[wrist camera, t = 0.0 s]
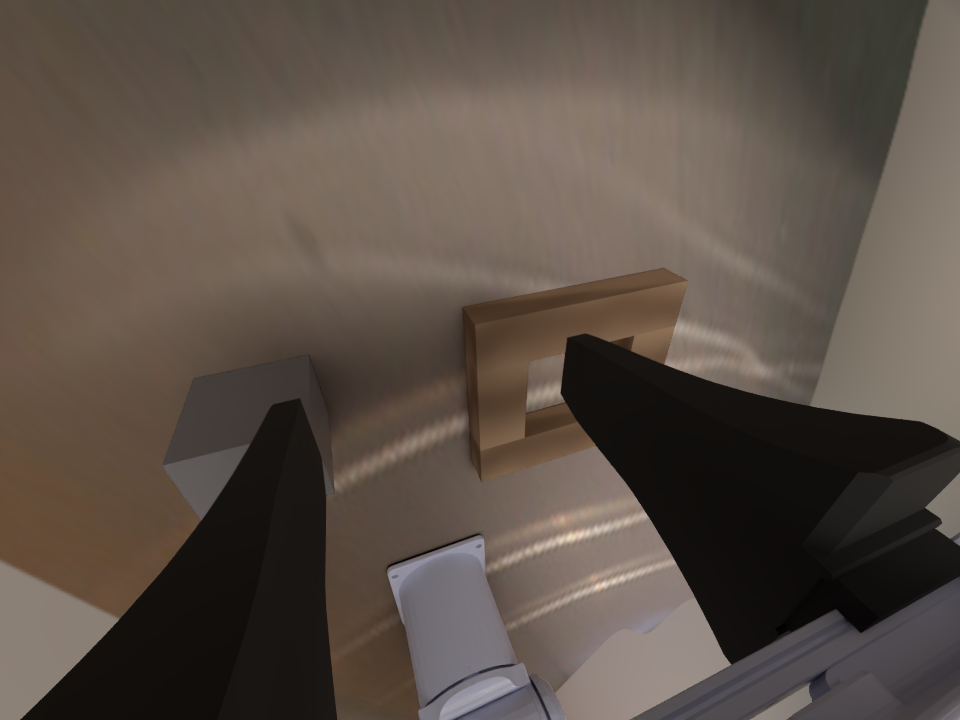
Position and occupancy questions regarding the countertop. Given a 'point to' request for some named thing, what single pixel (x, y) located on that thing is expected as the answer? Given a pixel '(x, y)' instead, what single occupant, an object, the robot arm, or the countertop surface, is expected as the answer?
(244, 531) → the robot arm
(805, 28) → the countertop surface
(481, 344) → the socket frame
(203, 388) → the plug
